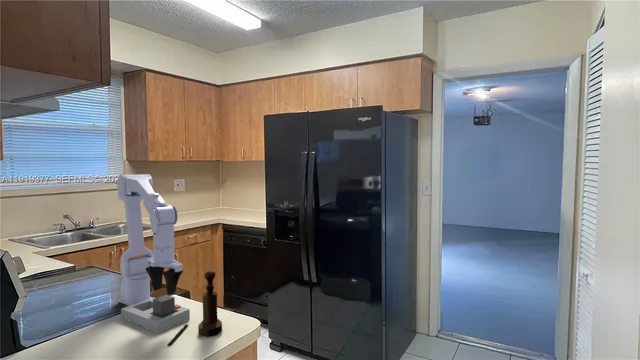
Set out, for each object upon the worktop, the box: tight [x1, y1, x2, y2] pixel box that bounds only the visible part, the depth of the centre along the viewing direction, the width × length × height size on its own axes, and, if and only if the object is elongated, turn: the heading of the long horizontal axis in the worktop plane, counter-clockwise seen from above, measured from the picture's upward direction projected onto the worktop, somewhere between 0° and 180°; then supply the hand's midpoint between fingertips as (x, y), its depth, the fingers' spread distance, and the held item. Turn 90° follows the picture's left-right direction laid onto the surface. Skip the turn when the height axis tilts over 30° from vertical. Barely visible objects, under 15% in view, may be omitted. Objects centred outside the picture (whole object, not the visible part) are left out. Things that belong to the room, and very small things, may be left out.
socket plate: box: [120, 297, 191, 333], centre depth 110 cm, size 18×11×4 cm, turn 59°
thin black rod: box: [167, 323, 189, 347], centre depth 100 cm, size 12×1×1 cm, turn 178°
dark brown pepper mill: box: [197, 268, 223, 338], centre depth 101 cm, size 7×6×18 cm
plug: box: [153, 294, 176, 318], centre depth 107 cm, size 4×4×7 cm
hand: (164, 291), depth 107 cm, fingers open, 6 cm apart
